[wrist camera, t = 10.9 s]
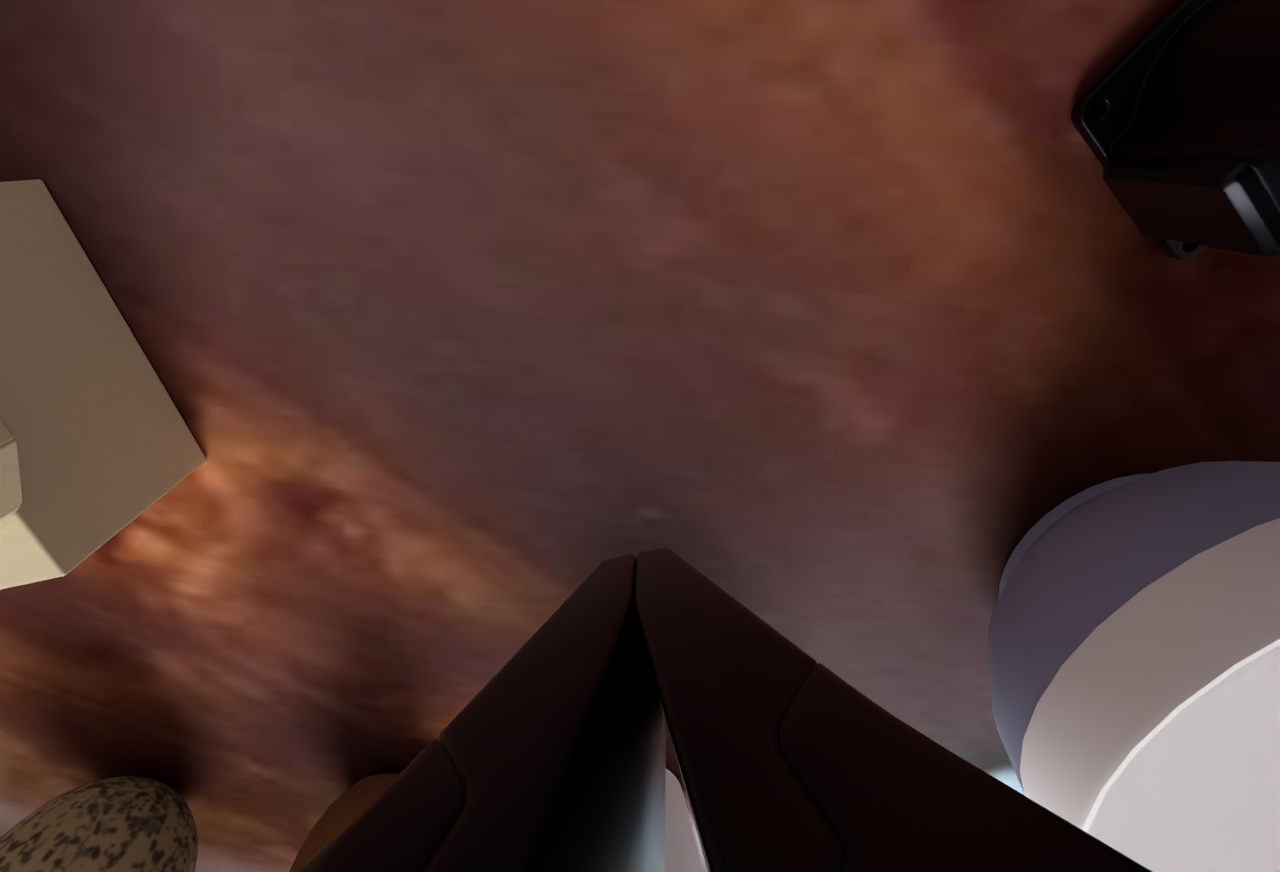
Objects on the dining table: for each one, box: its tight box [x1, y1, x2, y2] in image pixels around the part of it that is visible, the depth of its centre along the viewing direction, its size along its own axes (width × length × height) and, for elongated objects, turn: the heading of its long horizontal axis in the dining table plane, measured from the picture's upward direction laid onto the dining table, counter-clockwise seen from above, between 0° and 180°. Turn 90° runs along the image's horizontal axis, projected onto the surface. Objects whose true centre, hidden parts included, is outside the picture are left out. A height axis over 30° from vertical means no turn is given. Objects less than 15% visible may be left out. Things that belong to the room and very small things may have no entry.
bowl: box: [987, 461, 1280, 872], centre depth 21 cm, size 16×16×10 cm
